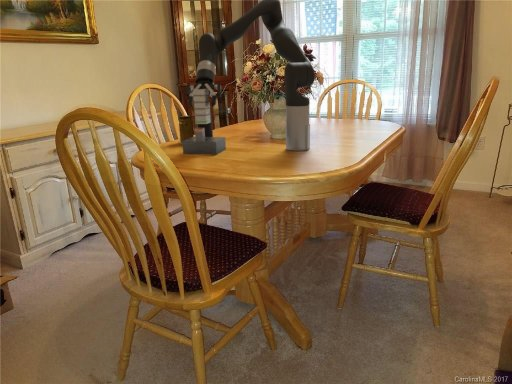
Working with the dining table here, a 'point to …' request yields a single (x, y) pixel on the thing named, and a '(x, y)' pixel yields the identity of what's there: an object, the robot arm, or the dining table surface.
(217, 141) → the stand base
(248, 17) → the robot arm
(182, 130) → the condiment
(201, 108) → the column
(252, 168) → the dining table surface
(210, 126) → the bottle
